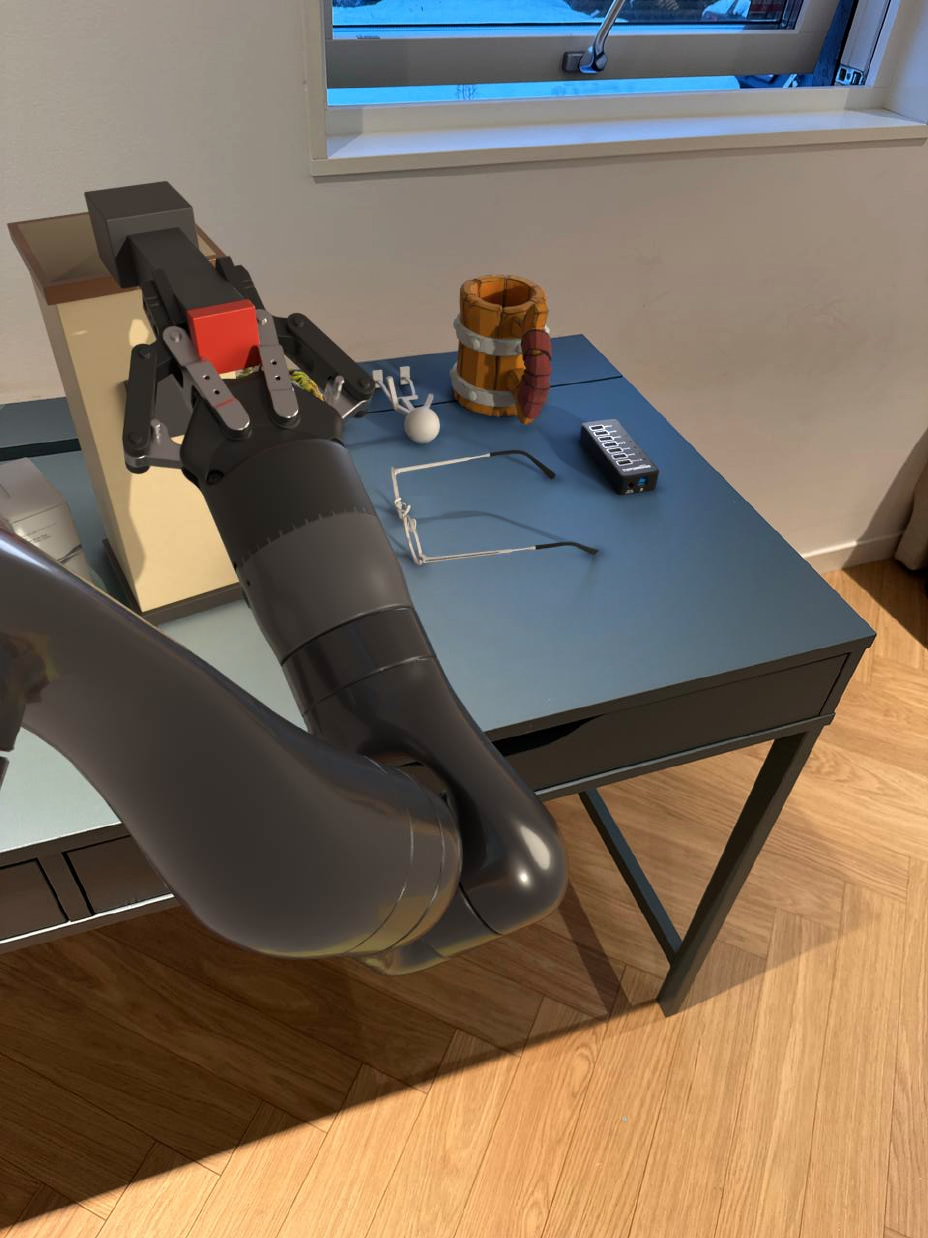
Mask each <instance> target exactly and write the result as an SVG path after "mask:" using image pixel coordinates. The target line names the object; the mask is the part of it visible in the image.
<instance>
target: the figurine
mask: <svg viewBox="0 0 928 1238" xmlns="http://www.w3.org/2000/svg"><path fill="white" fill-rule="evenodd" d="M410 371H411V370H410V366H409V365H406V366H400V367H399V384H400V385H407V384H408V385H409V387H410V392H411V395H407V396H401V397H398V396H397V391H396V386H395V383H394V378H393V376H391V375H389V376H386V377H385V380H386V383H387V387H386V385H385V384H384V379H383V370H382V369H376V370H375V369H374V370H372V373H371V374H372V378H373V379H374V381H375V383H376V387H375V389H377V388H378V389H379V388H381V389H382V391H383V394H385V396H386V398H387V399H388V400H389V402H390V403H391V406H392V409H393V410H394V411H396V412H397V413H400V414H402V415H404V416H405V418H404V422H403V423H404V424H403V426H404V427H403V428H404V431H405V432H404V433H405V434H406V435H407V437H408V438H409V439H410V440H411V441H412V442H414V443H417V444H427V443H430V442H432V441H433V440H435V438H436V437H437V436H438V434H439V433H440V429H441V424H440V419H439V417H438V415H437V413H436V412H435V411H433V410H432V409H431V408H430V407H431V405H432V403H433V400H434V393H429V394H428V395H427V398H426V401H425V403H424V404H423V405H422V406H418V407H416V408H415V407H414V406H413V404H412V402H411V401H413V400H418V399H419V396H418V394H416V390H415V387H414V382H413V381H412V380H411V379H410V378H411V376H410V375H411V373H410ZM399 402H401V404H402V405H403V406H402V405H400V404H399Z"/></svg>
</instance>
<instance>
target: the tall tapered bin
mask: <svg viewBox="0 0 928 1238" xmlns="http://www.w3.org/2000/svg"><path fill="white" fill-rule="evenodd" d="M195 224H196V230H197V236H198V242H199V248H200V251H201V252H202V253H203V254H204V255H205V257H206V258H207V259H208V260H209V261H210V262H211V263H212V264H213V265H214V266H215V262H216V258H220V257H226V256H227V254H225V252H224V251H223V250H222V249H221V248H220V247H219V246H218V244H216V243H215V242H214V240H212V238H211V237H209V235H208V234H207V233H206V232H205V231H204V230H203V229H202V227H200V226H199V225H198V224H197V223H196V222H195ZM6 226H7V229H8V232H9V236H10V239H11V242H12V243H13V245H14V247H15V248H16V251H17V252H18V254H19V256H20V258H21V259H22V261H23V263H24V265H25V266H26V269H27V270H28V272H29V276H30V279H31V282H32V286H33V289H34V292H35V296H36V298H37V303H38V307H39V310H40V313H41V316H42V320H43V324H44V326H45V329H46V333H47V336H48V340H49V344H50V347H51V350H52V354H53V357H54V361H55V364H56V367H57V370H58V374H59V377H60V381H61V384H62V388H63V391H64V395H65V398H66V401H67V404H68V408H69V412H70V415H71V419H72V422H73V424H74V428H75V432H76V435H77V440H78V442H79V446H80V449H81V452H82V457H83V459H84V463H85V467H86V470H87V473H88V476H89V480H90V483H91V486H92V490H93V494H94V497H95V501H96V503H97V507H98V510H99V514H100V518H101V521H102V525H103V528H104V531H105V534H106V537H107V538H103V539H102V540H101V543H102V546H103V549H104V553H105V554H106V557H107V559H108V561H109V564H110V566H111V567H112V570H113V572H114V574H115V576H116V578H117V582H118V583H119V585H120V587H121V590H122V592H123V594H124V596H125V598H126V601H127V603H128V605H129V607H130V610H131V611H133V612H134V613H136V614H137V615H139V616H140V617H142V618H143V619H145V620H146V621H147V622H149V623H150V624H152V625H153V626H155V627H156V626H160V625H163V624H166V623H169V622H173V621H176V620H179V619H181V618H184V617H185V618H186V617H188V616H190V615H195V614H197V613H200V612H203V611H207V610H209V609H212V608H215V607H218V606H221V605H225V604H228V603H231V602H234V601H237V600H240V599H244V597H243V595H242V592H241V590H242V589H241V584H240V582H239V580H238V577H237V575H236V573H235V570H234V568H233V565H232V563H231V561H230V558H229V556H228V553H227V551H226V548H225V546H224V544H223V541H222V539H221V537H220V534H219V532H218V529H217V527H216V525H215V522H214V520H213V518H212V515H211V513H210V511H209V508H208V506H207V503H206V501H205V499H204V496H203V495H202V493H201V491H200V490H199V489H198V488H197V487H196V486H195V485H194V484H193V483H191V482H190V481H189V480H187V478H186V477H185V476H184V475H183V473H182V471H181V469H173V468H163V467H154V466H150V468H149V470H148V471H147V472H145V473H143V474H134V473H132V472H130V471H129V470H128V469H127V468H126V466H125V459H124V452H123V442H122V434H123V425H124V416H125V406H126V397H127V388H128V379H129V369H130V360H131V351H132V349H133V347H134V346H136V345H138V344H149V345H150V344H151V343H153V342H155V341H156V338H155V335H154V333H153V330H152V328H151V326H150V323H149V321H148V319H147V316H146V314H145V312H144V309H143V299H142V290H141V289H140V288H139V286H136V287H131V288H125V289H121V288H120V286H119V285H118V284H117V282H116V281H115V279H114V278H113V276H112V275H111V274H110V272H109V271H108V269H107V268H106V267H105V265H104V264H103V262H102V261H101V259H100V257H99V253H98V249H97V245H96V241H95V237H94V233H93V228H92V224H91V220H90V216H89V212H88V211H85V212H84V211H83V212H77V213H70V214H64V215H63V214H61V215H56V216H48V217H42V218H41V217H40V218H34V219H27V220H21V221H13V222H7V223H6ZM219 375H220V377H221V378H222V379H237V377H236V371H233V372H228V373H224V374H219ZM191 415H192V413H191V412H190V410H189V409H188V407H187V406H186V404H185V401H184V399H183V395H182V393H181V391H180V390H179V388H178V387H177V385H176V384H175V382H174V381H173V379H172V378H171V376H168V377H166V378H165V379H163V380H161V381H160V382H158V392H157V403H156V413H155V419H157V420H159V421H161V422H163V423H164V424H165V425H166V426H167V428H168V431H169V436H170V438H171V439H172V440H173V441H174V442H176V443H178V444H181V443H182V441H183V438H184V435H185V432H186V429H187V426H188V423H189V420H190V418H191Z"/></svg>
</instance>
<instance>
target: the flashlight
mask: <svg viewBox="0 0 928 1238" xmlns="http://www.w3.org/2000/svg"><path fill="white" fill-rule="evenodd" d="M83 196H84V199H85V203H86V207H87V212H89V216H90V220H91V224H92V228H93V233H94V237H95V241H96V245H97V249H98V253H99V257H100V259H101V261H102V262H103V264H104V265H105V267H106V268H107V269H108V271H109V272H110V274H111V275H112V276H113V278H114V279H115V281H116V282H117V284H118V285H119V286H120V288H121V289H125V288H131V287H136V286H139V288H140V289H141V290H142V282H145V281H149V278H148V270H149V269H155V268H161V267H162V268H163V269H164V271H165V273H166V275H167V278H168V280H169V282H170V285H171V287H172V289H173V292H174V297H175V299H176V301H177V303H178V306H179V308H180V310H181V313H182V315H183V317H184V320H185V322H186V332H187V334H188V335H189V337H190V338H191V340H192V342H193V344H194V346H195V349H196V351H197V353H198V356H199V357H201V356H203V357H204V358H205V357H207V358H208V359H209V360H210V362H211V363H212V365H213V366H214V368H215V369H216V371H217V372H218V374H224V373H228V372H233V371H235V372H237V371H240V370H241V371H242V369H246V368H250V367H255V366H257V360H256V345H258V344H260V342H259V335H258V327H257V319H256V311H255V306H254V305H253V304H252V303H251V302H250V301H249V300H248V299H246V300H245V299H244V298H243V297H242V296H241V295H240V294H239V293H238V292H237V291H236V289H235V288H234V287H233V286H232V285H231V284H230V283H229V282H228V281H227V280H226V279H225V278H224V277H223V276H222V275H221V273H220V272H219V271H218V270H217V269H216V268H215V266H214V265H213V264H212V263H211V262H210V261H209V260H208V259H207V258H206V257H205V255H204V254H203V253H202V252H201V251H200V248H199V242H198V236H197V230H196V224H197V223H196V217H195V213H194V207H193V205H191V203H189V202H188V200H187V199H186V198H185V197H184V196H183V195H182V194H181V193H180V192H179V191H178V190H177V189H175V187H174V186H173V185H172V184H170V182H169V181H168V180H162V181H155V182H148V183H140V184H134V185H133V184H132V185H126V186H118V187H111V188H104V189H97V190H96V189H95V190H89V191H84V192H83ZM195 223H196V224H195Z"/></svg>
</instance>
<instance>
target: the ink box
mask: <svg viewBox="0 0 928 1238" xmlns="http://www.w3.org/2000/svg"><path fill="white" fill-rule="evenodd" d="M75 523H76V522H75V520H74V517H73V514H72V511H71V509H70V505H69V502H68V500H66V499H65V497H64V496H63V495H62V494H61V493H60V492H59V491H58V489H56V488H55V486H54V485H53V484H52V483H51V482H50V481H49V480H48V478H47V477H46V476H45V475H44V474H43V473H42V472H41V471H40V470H39V469H38V467H37V466H36V465H35V464H34V463H33V462H32V461H31V460H30V459H29V457H22V458H18V459H16V460H13V461H9V462H7V463H3V464H0V524H1V525H3V526H4V527H6V528H8V529H9V530H11V531H12V532H14V533H16V534H17V535H19V536H21V537H22V538H24V539H26V540H27V541H29V542H30V543H32V544H34V545H35V546H37V547H38V548H40V549H41V550H43V551H44V552H46V553H47V554H49V555H50V556H52V557H53V558H55V559H56V560H58V561H59V562H61V563H62V564H64V565H65V566H67V567H68V568H70V569H71V570H73V571H74V572H75V573H77V574H78V575H80V576H81V577H83V578H84V579H86V580H87V581H89V582H90V583H92V584H93V585H95V581H94V579H93V575H92V573H91V569H90V567H89V563H88V560H87V557H86V554H85V552H84V549H83V546H82V542H81V539H80V536H79V533H78V529H77V526H76V524H75Z"/></svg>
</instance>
